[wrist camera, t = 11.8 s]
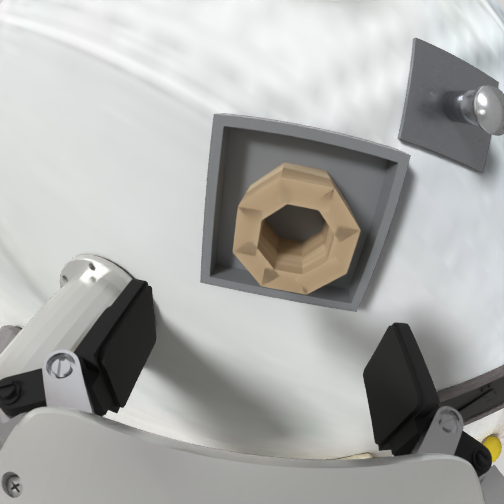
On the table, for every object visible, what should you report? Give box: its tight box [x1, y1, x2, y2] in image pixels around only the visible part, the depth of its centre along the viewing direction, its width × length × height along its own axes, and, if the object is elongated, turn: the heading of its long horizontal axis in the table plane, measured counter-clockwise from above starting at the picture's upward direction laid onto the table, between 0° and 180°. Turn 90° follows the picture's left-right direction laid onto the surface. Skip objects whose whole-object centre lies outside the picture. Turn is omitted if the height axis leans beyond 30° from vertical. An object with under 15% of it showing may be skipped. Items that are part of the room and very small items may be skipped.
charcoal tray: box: [200, 113, 410, 312], centre depth 19 cm, size 12×12×2 cm
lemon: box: [483, 436, 502, 462], centre depth 34 cm, size 6×6×8 cm
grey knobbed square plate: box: [398, 38, 504, 173], centre depth 12 cm, size 8×8×6 cm
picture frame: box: [437, 365, 504, 426], centre depth 29 cm, size 16×2×21 cm
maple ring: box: [233, 162, 361, 295], centre depth 18 cm, size 7×7×4 cm
